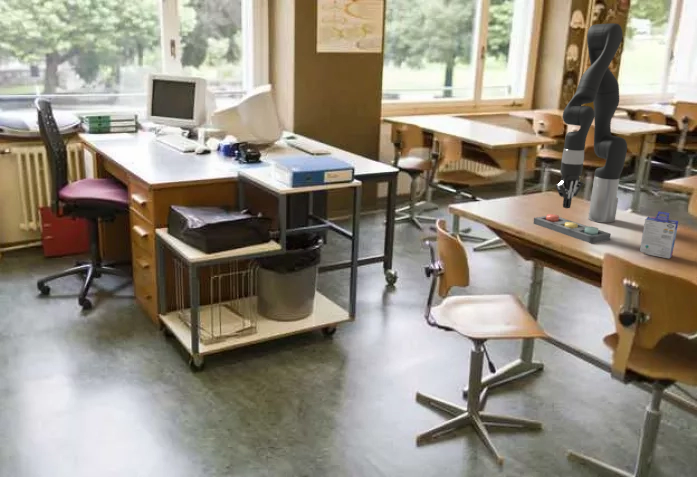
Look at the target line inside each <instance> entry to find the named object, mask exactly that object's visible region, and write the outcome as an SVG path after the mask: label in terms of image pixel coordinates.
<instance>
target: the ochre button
mask: <svg viewBox="0 0 697 477" xmlns="http://www.w3.org/2000/svg"><path fill="white" fill-rule="evenodd" d="M573 222H574V221H573ZM573 222H565V227H568V228H571V229H573V228H578V224H577V223H578V222H576V223H573Z"/></svg>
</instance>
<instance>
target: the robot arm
mask: <svg viewBox="0 0 697 477" xmlns="http://www.w3.org/2000/svg"><path fill="white" fill-rule="evenodd" d="M586 37H587V39H586V42H587V49H588V57H589V62H590V66H589V67H588V68H587V69H586V70H585V71H584V73H583V74H582V76H581V77H580V79H579V82H578V85H577V88H576V91H575V93H574V94H573V96H572V97H571V99H570V101H569V102H568V103H567V105H566V106H565V107H564V109H563V113H562V120H563V122H564V123H565V124H566V125H569V126H580V127H579V129H578V130H575V131H569V132H567V133H566V135H565V137H564V138H565V139H564V146H563V151H562V156H561V162H560V163H561V164H560V171H559V173H560V174H561V177H560V182H559V183H556V184H555V188H556V191H557V192H558V195H559V197H561V198H563V201H562V208H564V209H571V205H572V200H573V199H574V197H576V196H577V195H578V193H579V192H580V190H581V188H582V187H583V185H584V181H581V180H580V177H581V176H582V174H583V169H584V162H585V148H586V141H587V136H588V133H589V132H590V129H591V127H592V124H593V122H594V128H593V129H594V133H593V150H594V154H595V155H596V157H598V158H600V159H604V160H605V164H604V166H602V167H597V168H596V169H595V171H594V176H593V177H594V178H593V184H592V189H591V190H592V191H591V198H590V203H589V209H588V210H589V211H588V220H590V221H593V222H598V223H614V222H616V215H617V209H618V203H619V198H618V197H617V196H618V192H619V191H618V189H619V184H620V179H621V178H620V177H621V174H622V172H623V170H624V167H625V162H626V157H627V151H628V144H627V143H628V142H627V141H626V139H625V138H623V137H620V136H617V135H612V131H611V126H612V125H611V124H612V118H614V115H615V112H616V110H617V109H618V107H619V103H620V87H619V86H620V85H619V81H618V80H617V78H616V76H615V75H614V74H613V72H612V71H611V69H610V68H609V66H610V65H611V63H612V61H613V59H614V57H615V56H616V54H617V52H618V50H619V48H620V46H621V43H622V40H623V29H622V26H621V25H620V23H597V24H592V25H591V26H589V28H588V30H587V35H586ZM590 103H593V107H592V106H588V105H586V104H590Z"/></svg>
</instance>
